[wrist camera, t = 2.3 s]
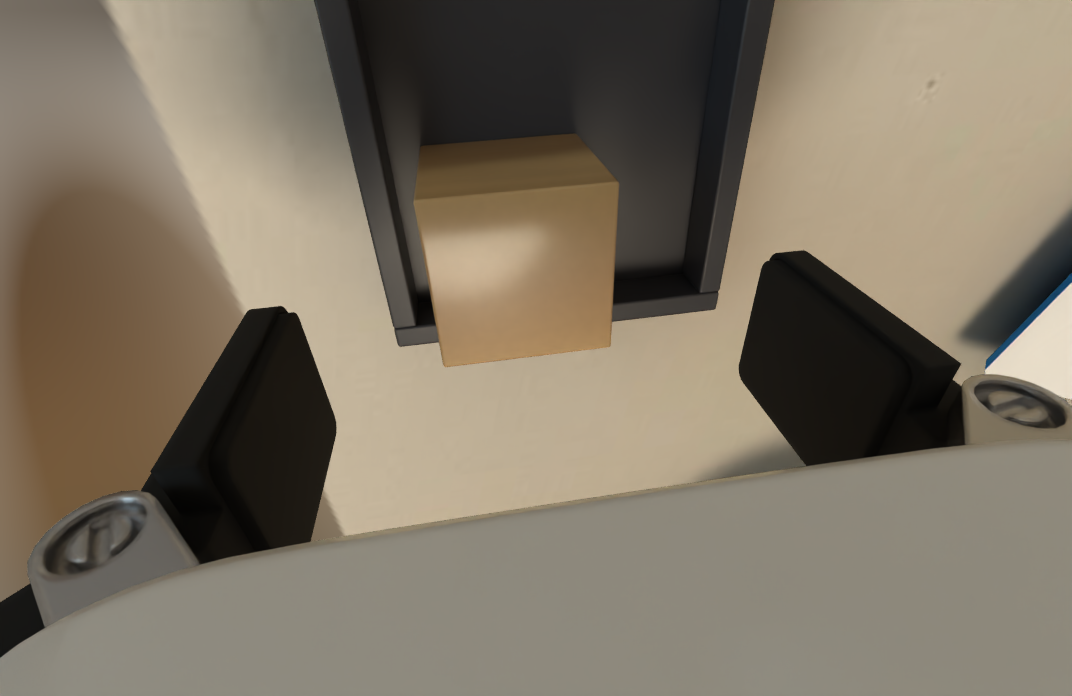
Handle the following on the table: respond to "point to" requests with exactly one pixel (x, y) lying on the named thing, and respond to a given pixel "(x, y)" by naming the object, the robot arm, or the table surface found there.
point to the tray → (557, 122)
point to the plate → (1041, 345)
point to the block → (517, 246)
